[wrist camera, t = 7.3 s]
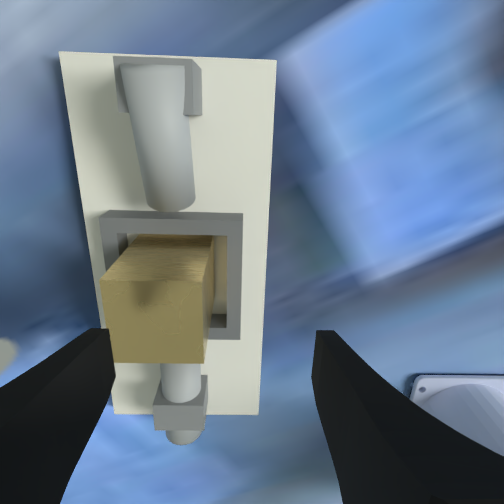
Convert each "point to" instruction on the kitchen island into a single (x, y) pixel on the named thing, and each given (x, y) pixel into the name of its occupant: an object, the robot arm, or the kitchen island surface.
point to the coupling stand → (180, 207)
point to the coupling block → (160, 299)
